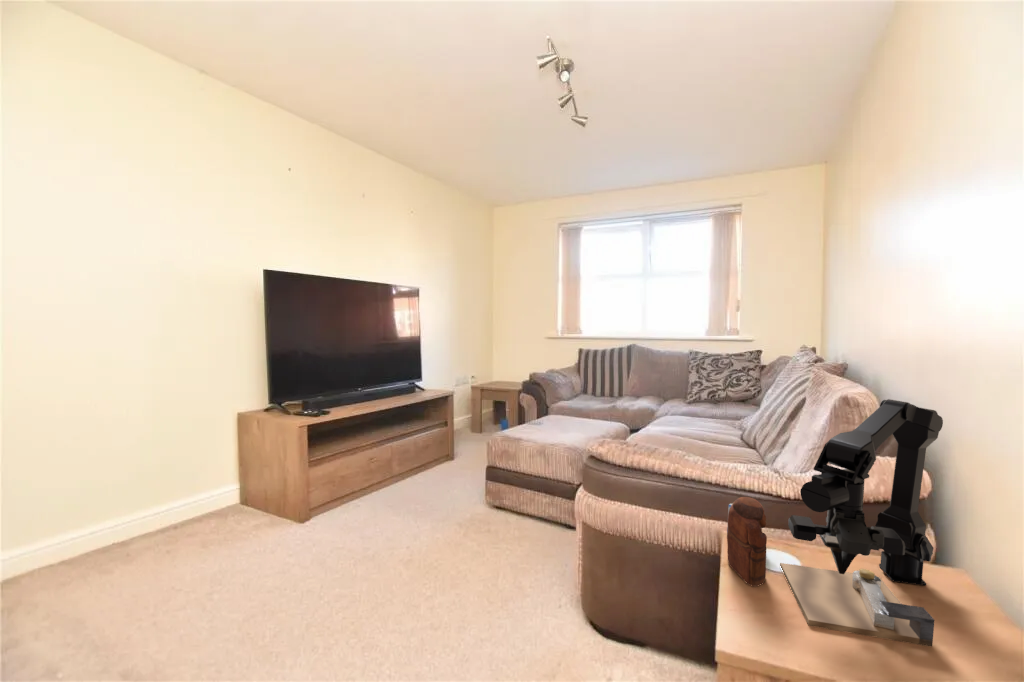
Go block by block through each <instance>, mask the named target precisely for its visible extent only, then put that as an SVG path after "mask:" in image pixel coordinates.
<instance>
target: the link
mask: <svg viewBox="0 0 1024 682" xmlns="http://www.w3.org/2000/svg"><path fill="white" fill-rule="evenodd" d="M859 570H860V569H859ZM859 570H854V571H852V573H853V578H852V586H853V587H854V588H855V589H856V590H858V591H859V592H860V594H861V596H862V599H863V601H864V603H865V606H866V608H867V610H868V613H869V615H870V617H871V620H872V622H873V624H874V625H875V626H879V627H883V628H887V629H891V630H894V617H889V616H888V615H887V614H886V612H885V611H884V610H883V608H882V607H881V606H880V601H885V602H887V601H886V599H885V597H884V595H883V593H882V591H881V589H880V588H881V580H880V579H879V578H878V577H879V576H877V575H876V574H875V577H874V579H866V578H864V577H862V576H860V574H859Z"/></svg>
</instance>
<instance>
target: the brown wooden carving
mask: <svg viewBox="0 0 1024 682" xmlns="http://www.w3.org/2000/svg"><path fill="white" fill-rule="evenodd" d="M731 504H732V505H731V507H730V509H729V513H728V512H727V524H728V529H727V528H726V539H727V543H726V544H727V563H728V564H729V566H730V567H731V568H732V569H733V571H735V572H736V574H738V575H739V577H740V578H741V579H742V580H743V581H744V582H747V583H746V584H747V585H749V586H751V585H752V587H759V586H760V584H761V585H763V584H764V583H765V580H766V574H767V564H766V563H767V540H768V537H767V535H766V533H765V532H763V529H764V528H765V527H766V526H767V522H766V521H767V516H766V514H765V509H764V506H763V505H762V503H760V501H758V500H757V499H756V498H753V497H749V496H741V497H738V498H736V499H735V500H733V502H732V503H731ZM727 531H728V532H727ZM762 583H763V584H762ZM758 585H759V586H758Z"/></svg>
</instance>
